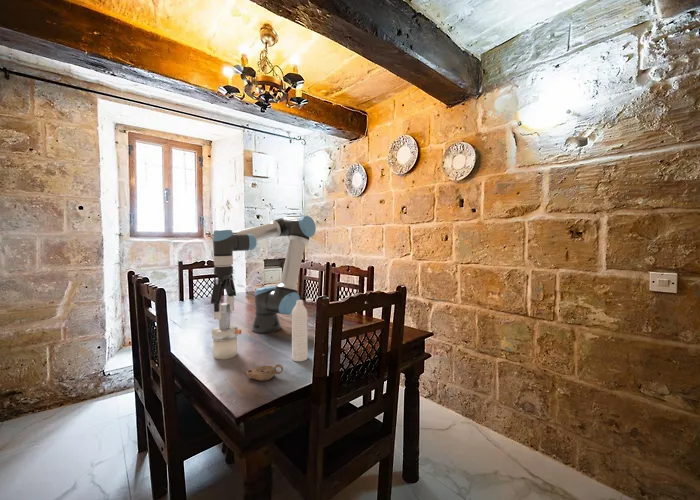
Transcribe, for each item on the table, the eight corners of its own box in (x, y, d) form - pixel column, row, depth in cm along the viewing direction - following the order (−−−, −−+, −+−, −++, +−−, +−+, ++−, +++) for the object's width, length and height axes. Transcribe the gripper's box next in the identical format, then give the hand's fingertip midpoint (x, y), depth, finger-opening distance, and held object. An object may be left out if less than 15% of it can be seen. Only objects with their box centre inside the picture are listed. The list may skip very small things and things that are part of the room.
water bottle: (294, 363, 125) (294, 302, 124) (290, 357, 131) (289, 299, 130) (314, 359, 129) (314, 300, 128) (309, 353, 135) (309, 297, 134)
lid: (207, 339, 128) (206, 306, 127) (219, 331, 139) (218, 301, 138) (235, 340, 127) (234, 307, 127) (245, 332, 138) (245, 301, 137)
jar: (238, 349, 139) (237, 332, 139) (236, 358, 130) (235, 339, 130) (215, 351, 137) (215, 334, 136) (211, 360, 128) (211, 341, 127)
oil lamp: (243, 382, 109) (243, 369, 109) (250, 373, 117) (250, 360, 116) (280, 383, 109) (280, 369, 109) (285, 373, 116) (285, 360, 116)
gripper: (226, 262, 144) (227, 307, 145) (200, 269, 119) (201, 323, 120) (242, 262, 144) (243, 307, 145) (219, 269, 119) (221, 323, 120)
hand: (224, 314), depth 133 cm, fingers open, 13 cm apart
